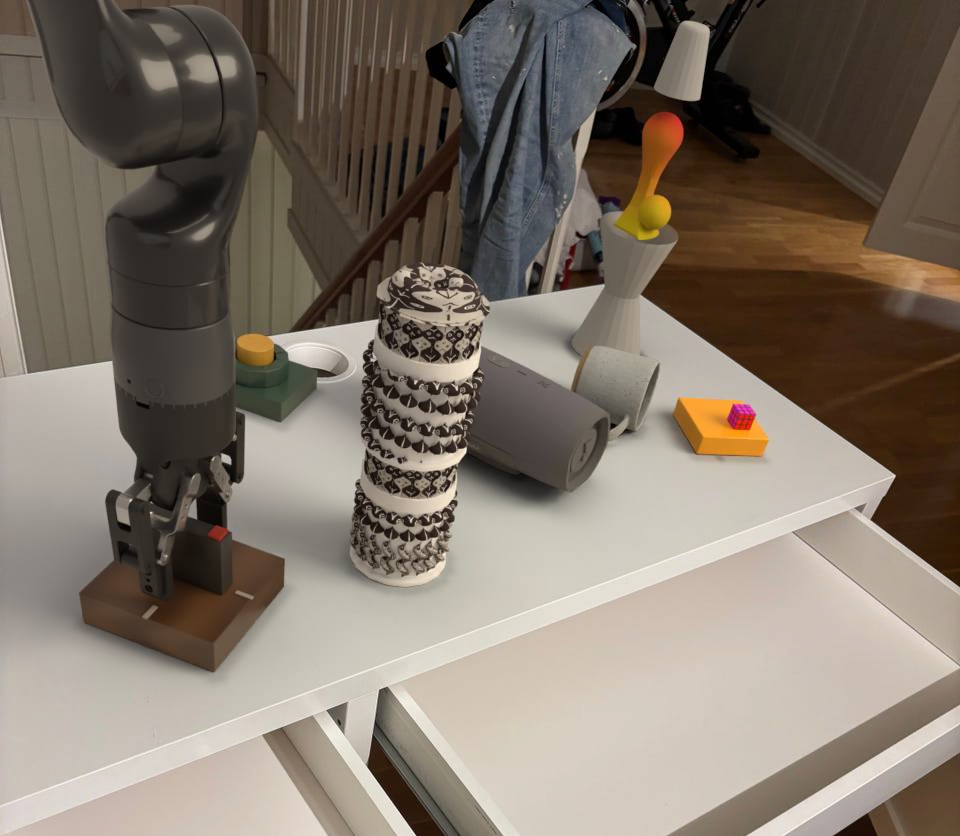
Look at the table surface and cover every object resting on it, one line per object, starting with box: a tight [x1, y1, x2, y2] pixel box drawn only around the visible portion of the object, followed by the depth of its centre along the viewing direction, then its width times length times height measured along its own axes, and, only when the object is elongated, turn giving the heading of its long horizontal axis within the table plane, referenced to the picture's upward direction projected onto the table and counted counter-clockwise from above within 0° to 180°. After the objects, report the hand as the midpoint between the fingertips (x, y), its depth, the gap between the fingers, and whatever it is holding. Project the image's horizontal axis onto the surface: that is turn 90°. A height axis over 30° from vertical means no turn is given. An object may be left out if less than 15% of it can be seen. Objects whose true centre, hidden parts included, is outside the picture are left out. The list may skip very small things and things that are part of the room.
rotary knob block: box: [78, 539, 286, 673], centre depth 75 cm, size 11×11×3 cm
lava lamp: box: [571, 20, 711, 357], centre depth 108 cm, size 9×9×35 cm
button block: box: [235, 340, 318, 423], centre depth 99 cm, size 10×8×4 cm
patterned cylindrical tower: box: [349, 261, 491, 588], centre depth 76 cm, size 9×9×25 cm
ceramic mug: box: [570, 346, 661, 443], centre depth 104 cm, size 11×8×8 cm
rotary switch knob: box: [150, 502, 233, 595], centre depth 72 cm, size 7×2×5 cm, turn 71°
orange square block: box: [672, 397, 770, 457], centre depth 108 cm, size 8×8×4 cm
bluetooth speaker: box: [466, 345, 612, 494], centre depth 96 cm, size 23×9×10 cm, turn 56°
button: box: [236, 333, 275, 366], centre depth 97 cm, size 4×4×2 cm
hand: (186, 565), depth 74 cm, fingers open, 7 cm apart
